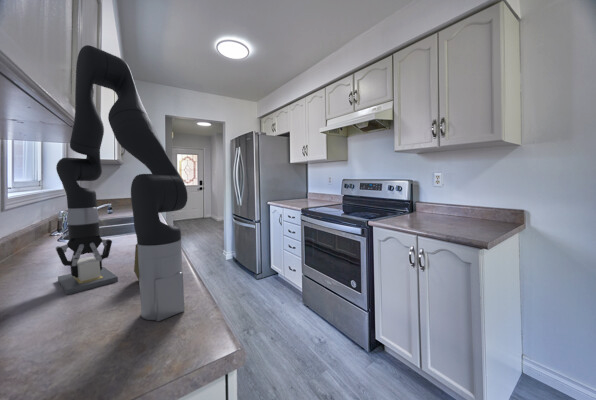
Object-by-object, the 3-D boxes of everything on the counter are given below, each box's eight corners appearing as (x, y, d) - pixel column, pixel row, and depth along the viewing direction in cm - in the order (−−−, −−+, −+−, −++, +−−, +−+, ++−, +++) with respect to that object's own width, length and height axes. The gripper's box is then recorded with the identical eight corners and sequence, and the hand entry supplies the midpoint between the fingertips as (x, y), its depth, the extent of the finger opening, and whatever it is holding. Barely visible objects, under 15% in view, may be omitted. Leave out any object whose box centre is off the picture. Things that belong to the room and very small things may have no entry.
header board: (118, 281, 80) (117, 267, 79) (67, 294, 70) (66, 279, 70) (103, 270, 90) (103, 258, 89) (58, 281, 80) (56, 267, 80)
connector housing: (100, 276, 79) (99, 261, 79) (80, 281, 75) (79, 265, 75) (93, 270, 85) (92, 256, 84) (74, 275, 81) (73, 259, 81)
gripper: (54, 226, 71) (58, 284, 72) (114, 220, 82) (117, 270, 83) (50, 223, 76) (54, 278, 77) (107, 218, 87) (110, 266, 88)
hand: (87, 274), depth 80 cm, fingers closed on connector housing, 4 cm apart
